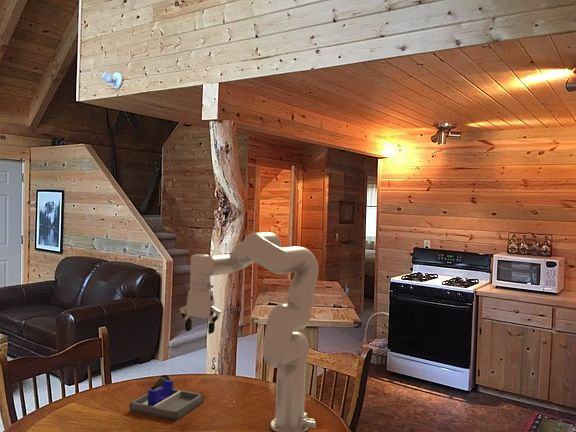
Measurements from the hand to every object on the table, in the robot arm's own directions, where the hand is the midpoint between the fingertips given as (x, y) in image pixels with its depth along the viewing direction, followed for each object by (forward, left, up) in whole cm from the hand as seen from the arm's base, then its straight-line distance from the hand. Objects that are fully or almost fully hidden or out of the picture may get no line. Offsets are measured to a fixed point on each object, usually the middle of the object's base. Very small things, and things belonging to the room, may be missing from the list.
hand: (199, 331), depth 191 cm
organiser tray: (+5, +13, -25) cm, 28 cm away
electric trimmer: (+19, -3, -25) cm, 32 cm away
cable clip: (+9, +13, -24) cm, 29 cm away
